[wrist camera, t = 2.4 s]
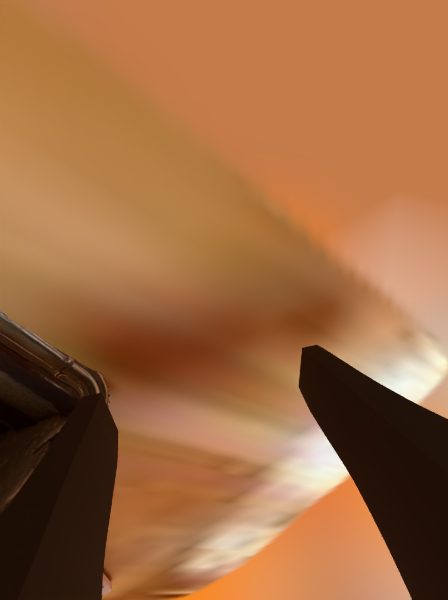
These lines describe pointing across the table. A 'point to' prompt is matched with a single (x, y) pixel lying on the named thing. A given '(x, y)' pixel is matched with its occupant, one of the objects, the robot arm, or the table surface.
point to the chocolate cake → (34, 401)
